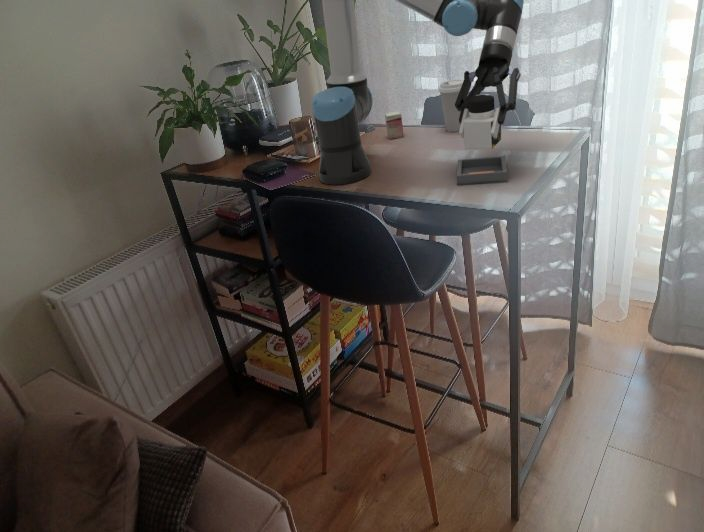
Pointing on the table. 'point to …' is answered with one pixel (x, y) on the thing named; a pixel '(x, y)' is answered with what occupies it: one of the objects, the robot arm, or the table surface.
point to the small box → (394, 125)
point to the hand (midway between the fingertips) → (477, 135)
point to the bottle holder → (481, 170)
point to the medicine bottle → (480, 123)
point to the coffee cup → (450, 103)
